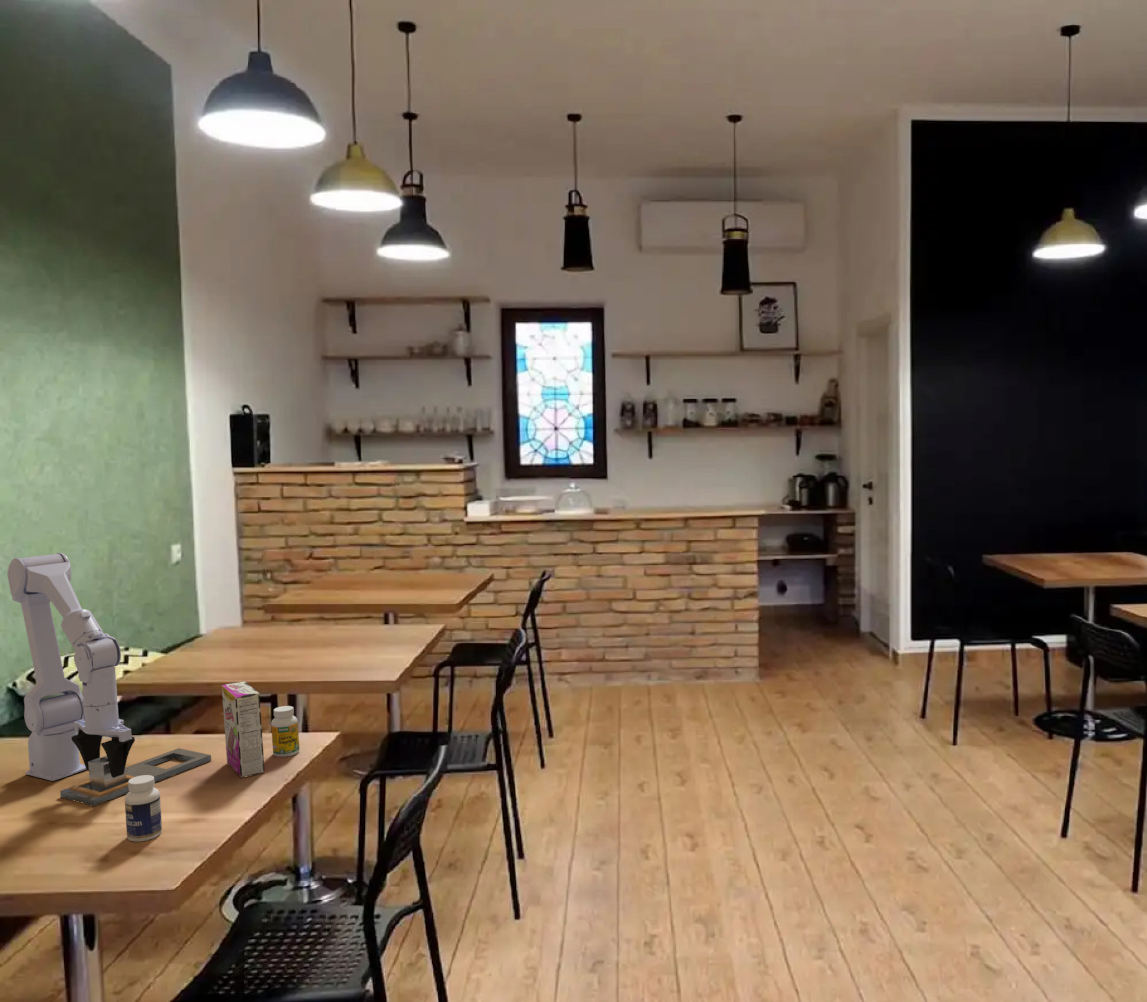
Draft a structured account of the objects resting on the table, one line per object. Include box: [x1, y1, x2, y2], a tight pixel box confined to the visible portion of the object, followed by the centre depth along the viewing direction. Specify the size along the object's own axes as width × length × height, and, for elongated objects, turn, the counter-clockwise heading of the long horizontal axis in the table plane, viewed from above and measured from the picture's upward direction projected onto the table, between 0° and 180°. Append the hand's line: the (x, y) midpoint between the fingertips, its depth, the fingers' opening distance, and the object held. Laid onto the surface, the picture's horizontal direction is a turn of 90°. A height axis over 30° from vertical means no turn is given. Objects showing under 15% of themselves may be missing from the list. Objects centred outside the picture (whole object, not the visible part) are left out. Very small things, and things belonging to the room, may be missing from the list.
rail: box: [59, 747, 212, 807], centre depth 185 cm, size 10×26×2 cm, turn 151°
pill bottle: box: [124, 775, 163, 842], centre depth 157 cm, size 5×5×10 cm
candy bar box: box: [221, 680, 266, 778], centre depth 188 cm, size 11×5×16 cm, turn 34°
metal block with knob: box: [88, 755, 127, 792], centre depth 179 cm, size 4×4×6 cm
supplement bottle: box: [270, 705, 300, 758], centre depth 196 cm, size 5×5×10 cm
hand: (105, 772), depth 178 cm, fingers open, 7 cm apart
